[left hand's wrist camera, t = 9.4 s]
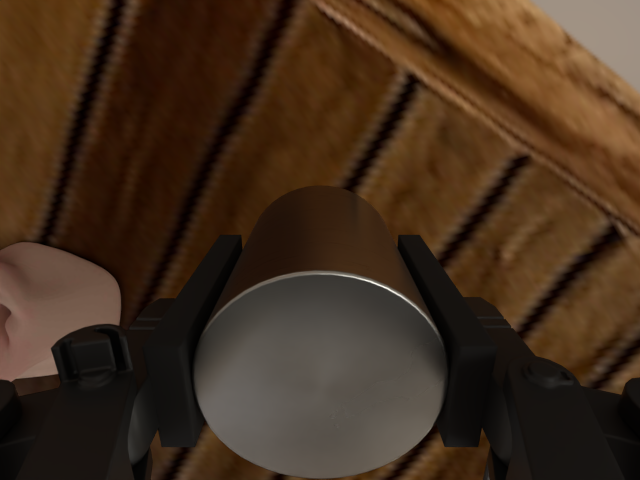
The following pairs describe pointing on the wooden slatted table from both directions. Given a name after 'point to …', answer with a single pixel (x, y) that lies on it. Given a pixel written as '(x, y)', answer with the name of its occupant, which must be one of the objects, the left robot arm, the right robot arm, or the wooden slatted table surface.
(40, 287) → the anatomical model
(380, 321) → the canister
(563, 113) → the wooden slatted table surface
